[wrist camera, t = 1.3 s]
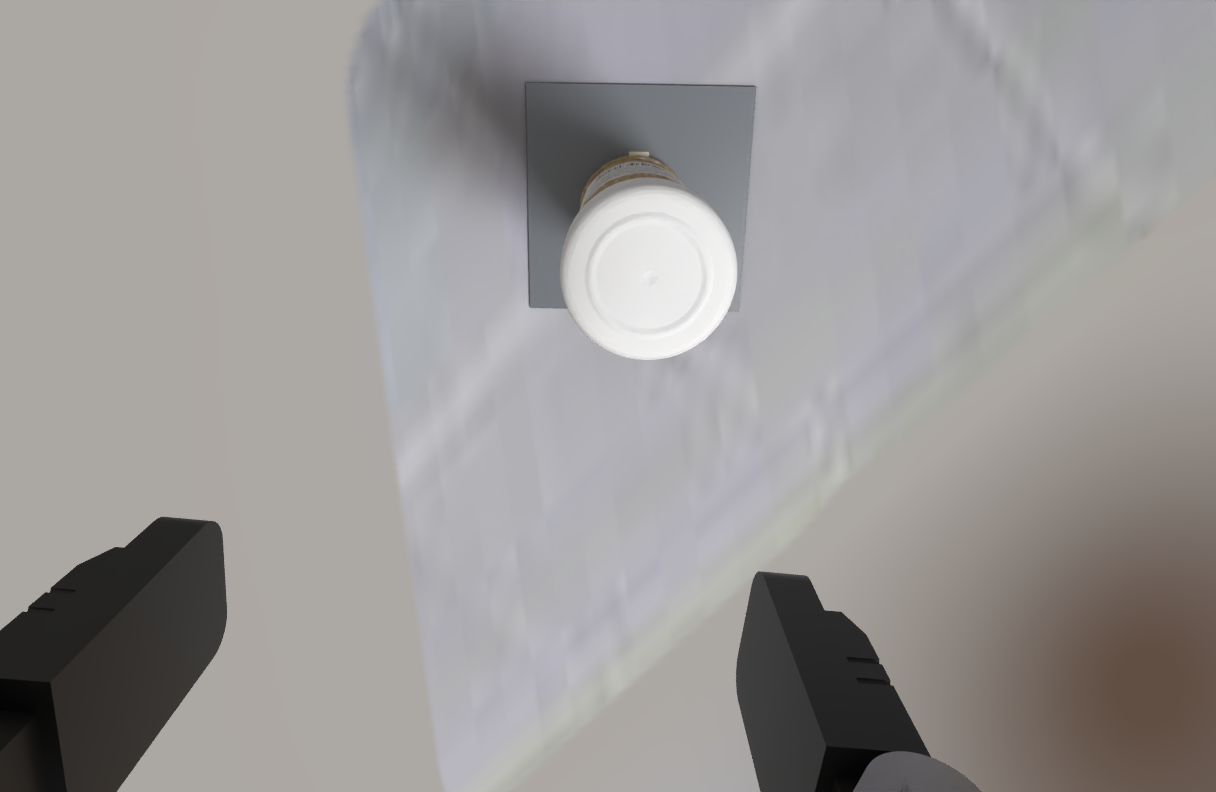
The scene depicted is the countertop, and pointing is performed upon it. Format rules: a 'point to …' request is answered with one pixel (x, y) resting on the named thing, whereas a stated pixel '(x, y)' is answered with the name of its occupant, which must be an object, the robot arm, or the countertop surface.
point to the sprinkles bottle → (646, 262)
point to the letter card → (631, 126)
